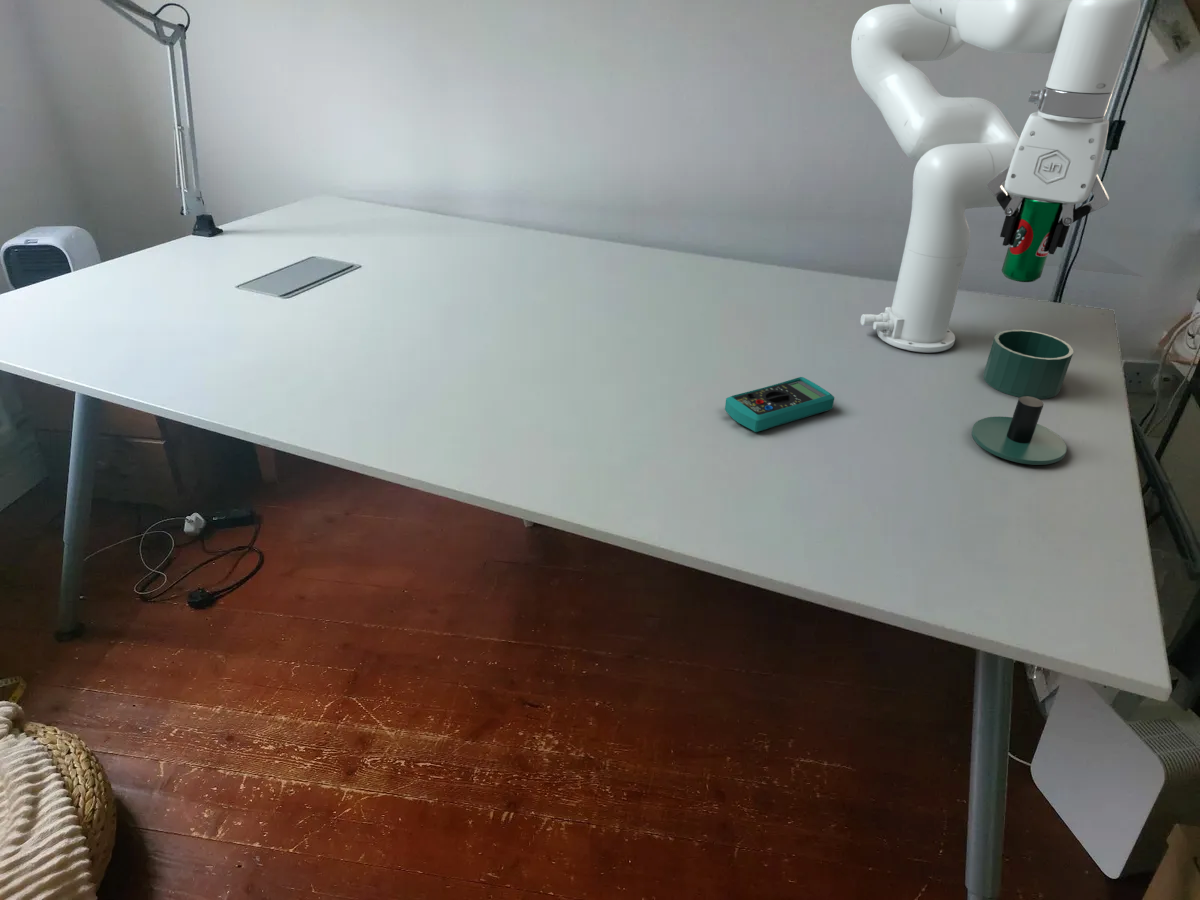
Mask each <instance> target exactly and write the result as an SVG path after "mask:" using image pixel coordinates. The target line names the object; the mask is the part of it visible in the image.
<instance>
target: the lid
mask: <svg viewBox="0 0 1200 900" xmlns="http://www.w3.org/2000/svg"><path fill="white" fill-rule="evenodd" d="M1043 408H1044V402H1043V401H1042V399H1037V398H1034V397H1029V396H1023V397H1018V399H1017V401H1016V406H1015V408H1014V412H1013V415H1012V416H990V417H989V416H988V417H983V418H981V419H978V420H977V421H976V422H975V423H974V424H973V426H972V428H971V437H972V439H973V440H974V442H975V443H976V444H977V445H978V446H979V447H980V448H982V449H983V450H985V451H986V452H988V453H989V454H992V455H994V456H996V457H999V458H1000V459H1004V460H1006V461H1011V462H1014V463H1018V464H1024V465H1033V466H1034V465H1035V466H1036V465H1037V466H1039V465H1040V466H1043V465H1051V464H1055V463H1058V462H1060V461H1062V459H1064V457H1065V456H1066V453H1067V451H1068V446H1067V443H1066V441H1065V440H1064V439H1063V438H1062V436H1060V435H1059V434H1058V433H1057V432H1055V431H1053V430H1052V429H1050V428H1049V427H1046V426H1044V425H1042V424H1039V423H1038V422H1039V419H1040V417H1041V413H1042V410H1043Z"/></svg>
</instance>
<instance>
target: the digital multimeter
mask: <svg viewBox="0 0 1200 900" xmlns="http://www.w3.org/2000/svg"><path fill="white" fill-rule="evenodd" d="M834 403H835V396H834V395H833V394H832V393H831V392H829V391H828V390H826V389H824V388H823V387H821V386H820V385H818V384H816V383H815V382H813V381H811V380H809V379H807V378H806V377H803V376H799V377H795V378H792V379H789V380H785V381H782V382H778V383H775V384H772V385H767V386H764V387H761V388H757V389H752V390H748V391H745V392H742V393H737V394H733V395H730V396H728V397H726V398H725V405H724V410H725V412H726V414H728V415H729V417H731V419H733V420H734V421H735V422H737V423H738V424H740V425H742V426H743V427H745V428H746V429H749V430H750V431H752V432H754V433H758V432H763V431H765V430H768V429H772V428H775V427H779V426H781V425H785V424H789V423H791V422H794V421H795V422H796V421H798V420H801V419H802V420H803V419H805V418H808V417H811V416H814V415H818V414H821V413H824V412H827V411H830V410H832V409H833V408H834Z"/></svg>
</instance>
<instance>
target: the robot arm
mask: <svg viewBox="0 0 1200 900" xmlns="http://www.w3.org/2000/svg"><path fill="white" fill-rule="evenodd" d="M1140 11H1141V0H909V3H892V4H884V5H880V6H876V7H874V8H872V9H870V10H867V12H865V13H863V14H862V15H861V16H860V17H859V19H858V20H857V22H856V23H855V24H854V28H853V31H852V33H851V42H850V45H851V46H850V52H851V53H850V55H851V62H852V67H853V71H854V74H855V77H856V80H857V82H858V83H859V84H860V86H861V88H862V89H863V91H864V92H865V93H866V95H867V96H868V97H869V98H870V99H871V101H872V102H873V103H874V104H875V106H876V107H877V109H878V111H879V112H880V114H881V115H882V117H883V119H884V121H885V123H886V124H887V126H888V128H889V130H890V132H891V133H892V135H893V137H894V139H895V140H896V142H897V144H898V145H899V147H900V149H901V151H902V152H903V153H904V155H905V156H906V157H907V158H909V159H911V160H912V161H916V164H915V166H914V171H913V176H912V197H911V198H912V199H911V213H910V220H909V225H908V228H907V229H908V230H907V235H906V239H905V242H904V243H905V244H904V249H903V253H902V259H901V263H900V266H899V267H900V268H899V272H898V275H897V276H898V277H897V281H896V284H895V285H896V286H895V290H894V294H893V300H892V304H891V306H886V307H885V309H884V312H880V313H879V314H873V313H864V314H863V313H862V314H861V316H860V325H861V326H864V327H865V326H871V327H872V329H873V330H874V331H876V334H877V337H878V338H879V339H880V340H881V341H883V342H884V343H886V344H888V345H890V346H892V347H894V348H898V349H901V350H905V351H909V352H916V353H940V352H945V351H947V350H949V349H951V348H952V347H953V346H954V344H955V342H956V341H955V340H956V335H955V334H954V332H953V331H952V330H951V329H949V326H950V321H951V318H952V314H953V310H954V306H955V303H956V299H957V294H958V291H959V287H960V283H961V279H962V276H963V272H964V269H965V265H966V261H967V256H968V252H969V250H970V249H969V248H970V244H971V229H970V226H969V224H968V221H967V218H966V213H965V211H966V210H968V209H981V208H994V207H1001V209H1002V210H1003V213H1004V215H1005V218H1004V221H1003V225H1002V228H1001V232H1000V235H999V237H1000V238H1003V242H1002V246H1004V247H1007V246H1009V243H1010V240H1011V237H1012V233H1013V230H1014V227H1015V223H1016V220H1017V216H1018V213H1019V209H1020V206H1021V203H1022V200H1023V198H1024V197H1026V198H1032V199H1038V200H1045V201H1051V202H1058V203H1062V209H1063V210H1062V217H1060V219H1059V222H1058V224H1057V226H1056V229H1055V232H1054V235H1053V238H1052V241H1051V245H1050V248H1049V251H1048V255H1054V254H1055V253H1056V251H1057V248H1061V249H1062V248H1063V247H1064V245H1065V242H1066V239H1067V237H1068V233H1069V231H1070V227H1071V225H1072V224H1073V223H1076V222H1077V221H1079V220H1081V219H1082V218H1084V217H1085V216H1088V215H1089V214H1091V213H1093V212H1095V211H1098V210H1099V209H1102V208H1104V207H1107V206H1108V205H1109V203H1110V200H1111V199H1110V197H1109V194H1108V192H1107V190H1106V189H1105V186H1104V184H1103V182H1102V181H1101V179H1100V176H1099V174H1098V173H1099V170H1100V167H1101V164H1102V160H1103V156H1104V153H1105V148H1106V144H1107V139H1108V133H1109V126H1110V121H1109V119H1107V118H1105V117H1106V116H1105V115H1106V113H1107V110H1108V108H1109V105H1110V101H1111V98H1112V95H1113V92H1114V89H1115V87H1116V83H1117V80H1118V78H1119V75H1120V71H1121V69H1122V65H1123V63H1124V59H1125V56H1126V54H1127V50H1128V47H1129V44H1130V41H1131V38H1132V35H1133V32H1134V30H1135V26H1136V23H1137V21H1138V17H1139V14H1140ZM966 43H967V44H969V45H971V46H974V47H977V48H980V49H983V50H986V51H989V52H993V53H998V54H1004V55H1005V54H1006V55H1010V54H1011V55H1015V54H1054V56H1053V59H1052V63H1051V66H1050V69H1049V72H1048V76H1047V80H1046V83H1045V86H1044V87H1043V88H1042V89H1041V90H1036V91H1035V90H1031V92H1030V94H1029V97H1028V100H1027V101H1028V103H1033V104H1034V105H1036V107H1037V111H1034V112H1032V113H1030V114H1029V116H1028V118H1027V119H1026V122H1025V124H1024V127H1023V128H1022V130H1021V134H1020V136H1018V134H1017V132H1016V131H1015V129H1014V128H1013V127H1012V125H1011V124H1010V122H1009V120H1008V119H1007V117H1006V116H1005V114H1004V113H1003V112H1002V111H1001V109H1000V108H999V107H998V106H997V105H996V104H995V103H994V102H992V101H990V100H988V99H986V98H983V97H976V96H975V97H974V96H965V97H963V96H961V97H960V96H959V97H954V96H953V97H951V96H945V95H942V94H941V93H939V92H938V91H937V89H936V87H934V85H933V83H932V81H931V80H930V79H929V77H928V76H927V75H926V74H925V73H924V72H923V71H922V70H921V69H920V68H918V67H917V66H915V65H913V64H912V63H910V62H934V61H935V62H936V61H941V60H944V59H946V58H949V57H951V56H952V55H953V54H955V53H956V52H957V51H958V50H960V48H961V47H963V46H964V45H965V44H966ZM1091 194H1092V196H1093V199H1092V200H1090V201H1088V202H1086V201H1087V200H1088V198H1089V197H1090V195H1091ZM1084 202H1085V203H1084ZM1082 203H1084V204H1082ZM1079 204H1081V205H1080V206H1078V207H1077V205H1079Z"/></svg>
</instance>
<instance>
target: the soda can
mask: <svg viewBox="0 0 1200 900" xmlns="http://www.w3.org/2000/svg"><path fill="white" fill-rule="evenodd" d="M1018 209H1019V211H1018V212H1019V213H1018V216H1017V220H1016V223H1015V227H1014V230H1013V233H1012V237H1011V240H1010V243H1009V245H1007V246H1008V247H1007V250H1006V254H1005V257H1004V260H1003V264H1002V267H1001V273H1002V275H1003V276H1004V277H1005V278H1007V279H1008V280H1011V281H1014V282H1019V283H1034V282H1035V281H1037V280H1039V279H1040V278H1041V277H1042V274H1043V271H1044V268H1045V265H1046V262H1047V259H1048V256H1049V253H1048V251H1049V248H1050V245H1051V241H1052V238H1053V235H1054V232H1055V229H1056V226H1057V224H1058V223H1059V221H1060V220H1061V215H1062V214H1063V209H1062V203H1058V202H1051V201H1045V200H1038V199H1032V198H1026V197H1024V198H1023V200H1022V202H1021V204H1020V205H1019V208H1018Z"/></svg>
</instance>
